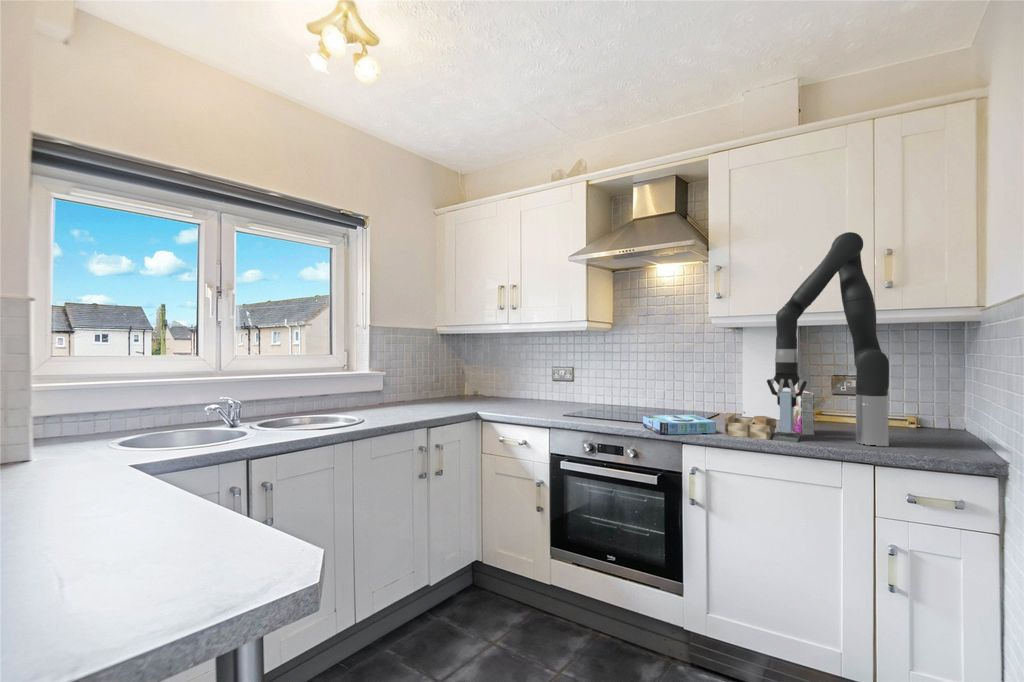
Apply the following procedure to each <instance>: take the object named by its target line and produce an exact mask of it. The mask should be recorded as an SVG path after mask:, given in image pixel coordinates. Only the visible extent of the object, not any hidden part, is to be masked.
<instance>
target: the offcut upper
mask: <svg viewBox="0 0 1024 682" xmlns="http://www.w3.org/2000/svg"><path fill="white" fill-rule="evenodd" d="M753 419H754V425H765V426H770V428H775V429H777V418H774V417H770V416H765V415H754V416H753Z"/></svg>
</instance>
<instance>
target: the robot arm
mask: <svg viewBox="0 0 1024 682" xmlns="http://www.w3.org/2000/svg"><path fill="white" fill-rule="evenodd" d="M863 248H864V239H863V238H862V236H861V235H860V234H859V233H857V232H853V231H852V232H850V231H848V232H844V233H841V234H840V235H838V236H836V238H835V239H834V240H833V242H832V243H831V247H830V249H829V250H828V253H827V254H826V255H825V257H824V258H823V260H821V262H820V263H819V265H818V266H817V267H816V268H815V269H814V270H813V271H812V272H811V273H810V274H809V275H808V276H807V277H806V278H805V280H804V281H803V282H802V283H801V284H800V285H799V286H798V288H797V289H796V290H795V291H794V292H793V294H792V295H791V296H790V298H789V300H788V301H787V302H786V303H785V304H784V306H782V308H780V309H779V310H778V311H777V313H776V315H775V322H776V323H775V326H776V327H775V328H776V338H775V356H774V357H775V358H774V362H775V365H774V366H775V371H774V372H775V373H774V374H775V375H774V376H773V378H771V379H766V383H767V385H768V387H769V389H770V392H771V395H773V396H776V398H777V399H776V400H777V402H776V403H777V405H778V406H779V408H780V393H781V392H783V391H784V389H785V388H786V389H790V391H791V393H792V407H794V406H796V397H798V396H801V395H802V393H803V391H805V388H806V386H807V384H808V381H807V380H804V379H801V378H800V376H799V353H798V352H799V351H798V335H797V331H798V320H799V318H800V317H801V316H802V315H803V314H804V312H806V311H805V310H806V309H808V308H809V307H810V306H811V305H812V304H813V303H814V302H815V300H816V299H817V298H818V297H819V296H820V294H821V293H823V291H824V290H825V288H826V287H827V286H828V284H829V283H830V282H831V280H832V279H833V278H834V276H835V275H836V274H837V273H838V275H839V276H838V277H839V286H840V295H841V301H842V307H843V312H844V316H845V319H846V323H847V327H848V330H849V331H850V334H851V338H852V345H853V346H852V347H853V357H854V359H853V360H854V366H855V367H856V383H855V442H857V443H856V444H859V443H860V444H859V445H863V444H865V446H870V445H876V446H875V447H890V445H889V444H890V443H889V442H890V439H889V437H890V433H889V428H890V427H889V423H890V422H889V396H888V394H889V387H890V363H889V362H890V361H889V358H888V357H887V355H886V354H885V353H884V352H882V349H881V346H880V344H879V343H880V342H879V339H878V335H877V311H876V304H875V299H874V295H873V291H872V289H871V287H870V284H869V282H868V280H867V278H866V275H865V273H864V270H863V264H862V256H861V255H862V253H861V252H862V250H863ZM775 382H776V384H777V385H778V388H777V391H776V389H775V387H774V384H775ZM798 383H799V385H800V388H799V389H798V390H799V392H798V393H796V391H795V390H796V388H795V386H796V385H797V384H798Z"/></svg>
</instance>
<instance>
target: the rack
mask: <svg viewBox="0 0 1024 682" xmlns="http://www.w3.org/2000/svg"><path fill="white" fill-rule="evenodd" d="M775 431H776V428H770V426H765V425H754V418H743V417H737V414H736V412H731V413H730V414H728V415H727V416H725V417H724V436H725V435H728V436H727V437H734V436H740V437H739V438H745V437H749V438H748V439H756V438H758V439H759V440H768V441H770V440H771V439H772V438H773V436H774V435H775V434H776V432H775ZM758 439H757V440H758Z"/></svg>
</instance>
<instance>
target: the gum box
mask: <svg viewBox="0 0 1024 682" xmlns="http://www.w3.org/2000/svg"><path fill="white" fill-rule="evenodd" d="M716 424H717V422H716V421H715V420H711V419H708V418H705V417H702V416H700V415H697V414H668V415H666V414H665V415H664V414H663V415H660V414H659V415H643V417H642V427H643V426H645V427H644V428H646V427H647V428H646V429H648V428H649V430H650V431H652V432H655V433H657V434H658V435H695V434H697V435H698V434H700V435H702V433H707V434H716V433H717V432H716V431H717V427H716V426H717V425H716Z"/></svg>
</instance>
